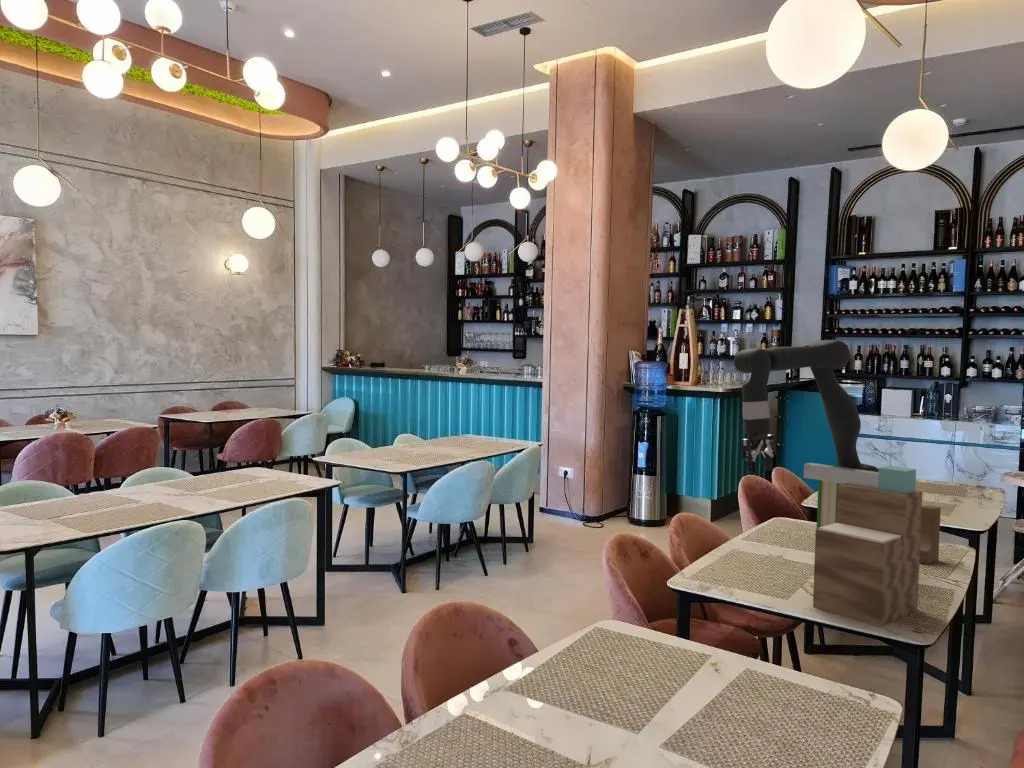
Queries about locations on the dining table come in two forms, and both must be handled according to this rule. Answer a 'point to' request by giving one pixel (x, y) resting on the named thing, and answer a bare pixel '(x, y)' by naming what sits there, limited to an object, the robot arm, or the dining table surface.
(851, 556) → the stepped wooden riser
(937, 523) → the wooden block
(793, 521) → the dining table surface
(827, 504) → the hardback book
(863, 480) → the mallet
